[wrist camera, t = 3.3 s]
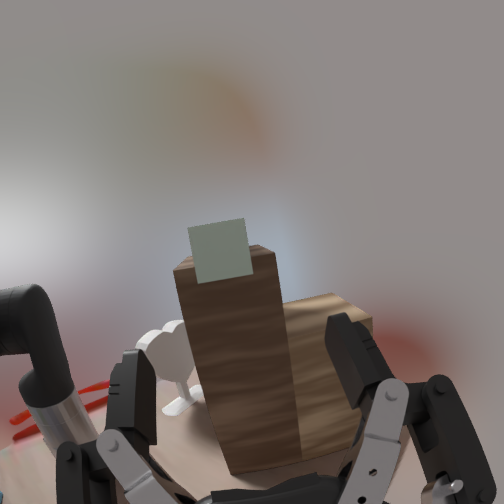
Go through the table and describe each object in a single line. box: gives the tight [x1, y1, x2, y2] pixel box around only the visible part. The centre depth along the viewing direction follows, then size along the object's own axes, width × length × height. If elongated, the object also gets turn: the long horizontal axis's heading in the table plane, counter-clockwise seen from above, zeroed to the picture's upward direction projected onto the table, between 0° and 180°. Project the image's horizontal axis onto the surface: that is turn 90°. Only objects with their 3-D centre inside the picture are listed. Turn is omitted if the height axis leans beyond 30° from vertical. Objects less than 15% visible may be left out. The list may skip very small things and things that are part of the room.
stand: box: [173, 245, 373, 475], centre depth 39 cm, size 14×22×32 cm, turn 96°
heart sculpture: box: [135, 320, 204, 416], centre depth 56 cm, size 16×5×18 cm, turn 150°
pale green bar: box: [188, 218, 253, 284], centre depth 33 cm, size 26×4×4 cm, turn 6°
